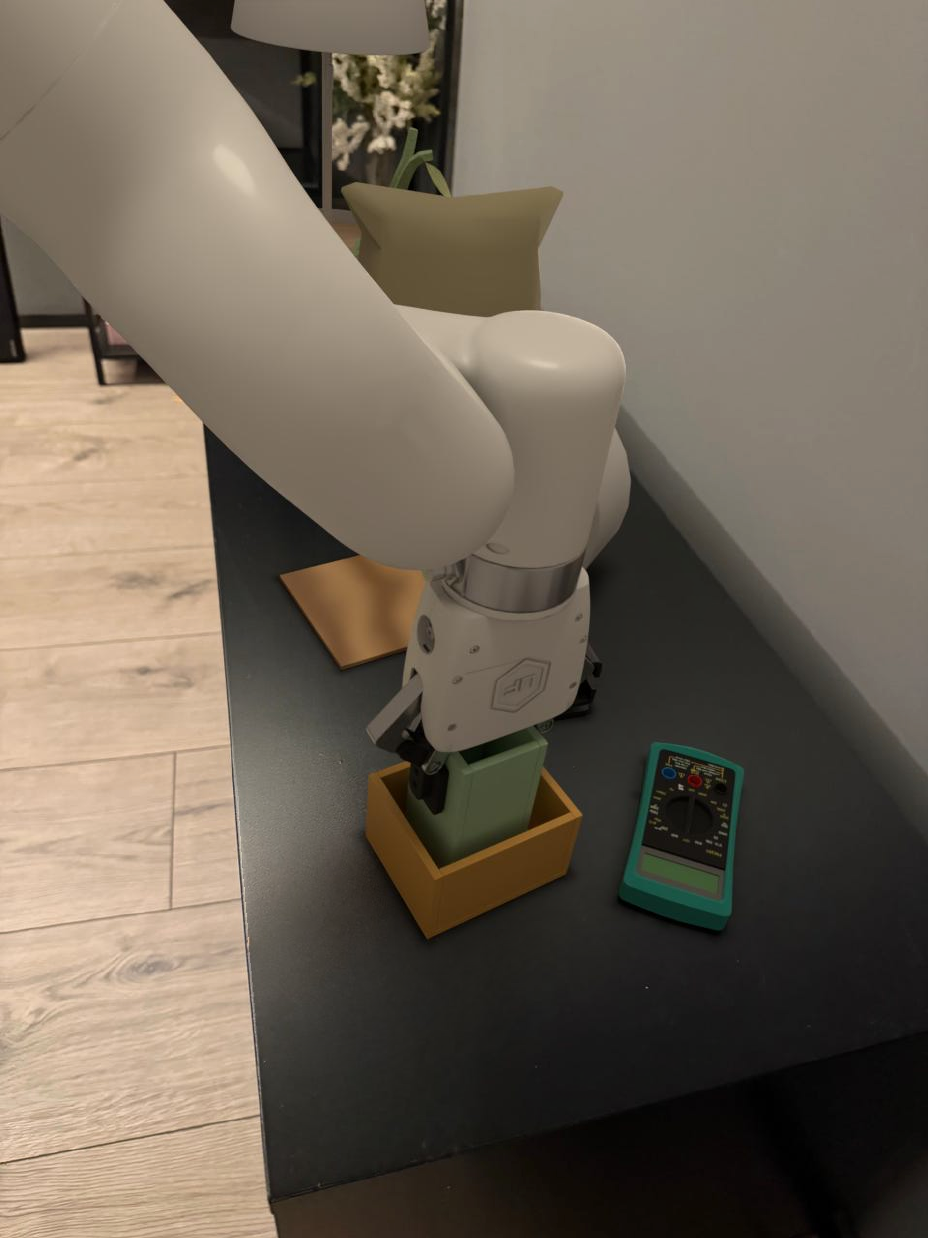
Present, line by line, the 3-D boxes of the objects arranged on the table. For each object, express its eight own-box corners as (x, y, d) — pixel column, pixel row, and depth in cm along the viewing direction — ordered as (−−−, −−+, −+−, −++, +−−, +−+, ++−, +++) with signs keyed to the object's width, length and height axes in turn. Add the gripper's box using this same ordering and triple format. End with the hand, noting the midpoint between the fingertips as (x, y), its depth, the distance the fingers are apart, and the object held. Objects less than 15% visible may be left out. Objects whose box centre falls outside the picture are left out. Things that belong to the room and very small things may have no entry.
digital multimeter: (737, 781, 73) (748, 756, 71) (721, 939, 62) (733, 914, 60) (646, 755, 75) (654, 730, 73) (614, 905, 63) (623, 880, 61)
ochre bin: (426, 940, 60) (434, 880, 56) (365, 835, 66) (368, 774, 62) (566, 874, 65) (583, 815, 61) (497, 783, 71) (508, 723, 67)
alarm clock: (611, 575, 93) (656, 394, 81) (582, 613, 88) (625, 425, 76) (431, 504, 100) (447, 327, 88) (394, 535, 95) (405, 352, 82)
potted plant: (288, 409, 114) (282, 143, 95) (274, 348, 127) (266, 103, 108) (465, 405, 119) (492, 152, 100) (433, 346, 132) (452, 114, 114)
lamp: (248, 289, 142) (230, -53, 115) (239, 228, 164) (222, -72, 137) (432, 291, 149) (456, -31, 122) (400, 232, 171) (414, -53, 144)
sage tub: (444, 895, 61) (464, 774, 54) (402, 829, 65) (416, 707, 57) (519, 862, 64) (548, 743, 56) (475, 800, 68) (497, 681, 60)
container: (506, 417, 118) (541, 163, 99) (553, 487, 105) (604, 212, 87) (318, 428, 111) (318, 157, 92) (346, 503, 99) (352, 209, 80)
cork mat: (341, 670, 79) (341, 666, 78) (279, 579, 88) (279, 574, 87) (480, 627, 85) (481, 623, 85) (410, 546, 94) (410, 542, 93)
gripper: (398, 640, 42) (378, 874, 54) (680, 559, 50) (610, 778, 62) (331, 552, 47) (325, 783, 59) (598, 490, 55) (547, 705, 66)
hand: (472, 779), depth 60 cm, fingers closed on sage tub, 6 cm apart
